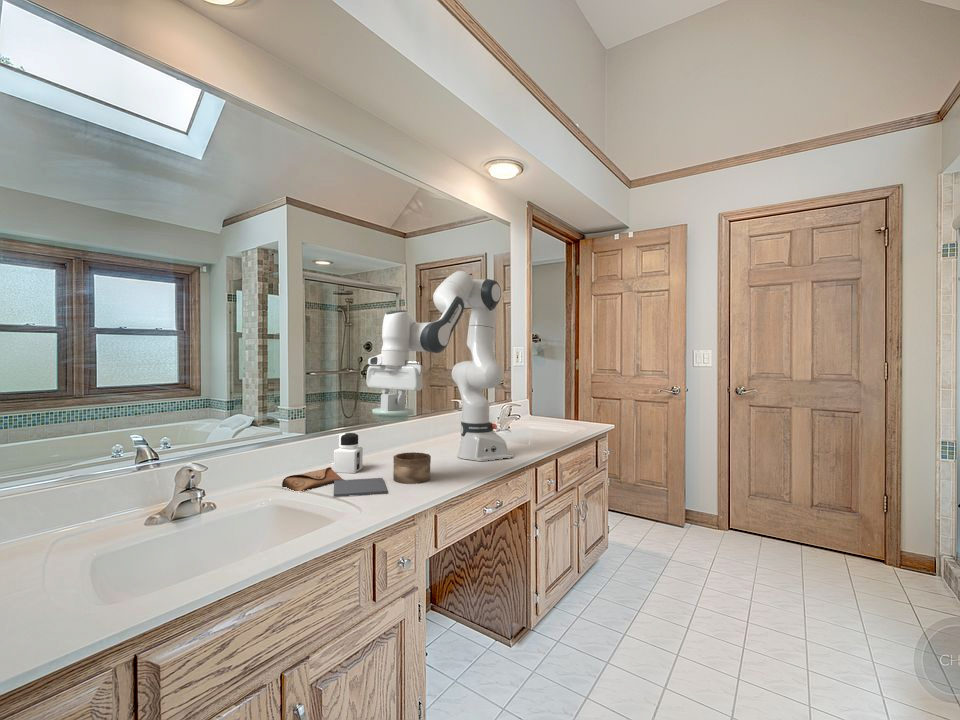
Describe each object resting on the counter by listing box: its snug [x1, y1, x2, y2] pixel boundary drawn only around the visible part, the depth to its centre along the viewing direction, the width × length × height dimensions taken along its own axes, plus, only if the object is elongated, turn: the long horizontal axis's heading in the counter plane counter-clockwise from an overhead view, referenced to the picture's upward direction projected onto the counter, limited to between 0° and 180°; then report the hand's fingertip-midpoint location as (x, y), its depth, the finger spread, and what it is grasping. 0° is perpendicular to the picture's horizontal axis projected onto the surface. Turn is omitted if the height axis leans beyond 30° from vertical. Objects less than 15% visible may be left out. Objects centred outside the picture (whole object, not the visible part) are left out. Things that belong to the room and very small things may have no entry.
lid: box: [371, 392, 415, 422], centre depth 147 cm, size 13×13×8 cm
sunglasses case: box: [281, 466, 345, 492], centre depth 144 cm, size 18×7×7 cm, turn 147°
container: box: [332, 432, 364, 474], centre depth 161 cm, size 8×8×13 cm
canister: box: [392, 451, 432, 485], centre depth 152 cm, size 12×12×8 cm
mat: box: [333, 477, 388, 497], centre depth 140 cm, size 15×15×1 cm
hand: (393, 403), depth 147 cm, fingers closed on lid, 3 cm apart
